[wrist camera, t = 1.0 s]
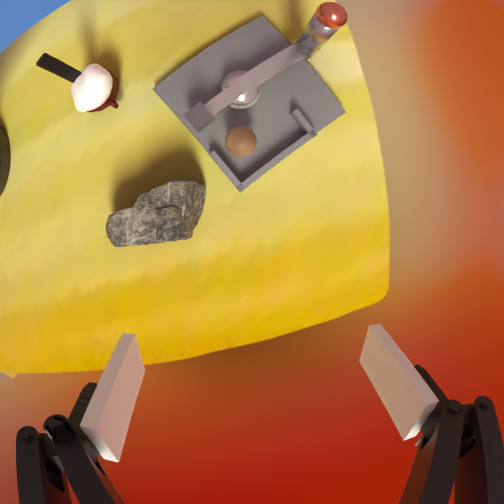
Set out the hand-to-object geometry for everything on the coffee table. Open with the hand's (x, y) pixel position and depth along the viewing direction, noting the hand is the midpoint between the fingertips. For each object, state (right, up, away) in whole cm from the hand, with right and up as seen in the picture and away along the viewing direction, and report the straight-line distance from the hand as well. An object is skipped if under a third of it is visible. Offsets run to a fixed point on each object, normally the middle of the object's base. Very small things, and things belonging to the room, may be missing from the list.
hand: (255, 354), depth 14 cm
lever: (0, +26, +14) cm, 30 cm away
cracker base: (0, +26, +18) cm, 31 cm away
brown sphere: (-1, +18, +15) cm, 23 cm away
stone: (-12, +11, +22) cm, 28 cm away
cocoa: (-21, +28, +15) cm, 38 cm away
